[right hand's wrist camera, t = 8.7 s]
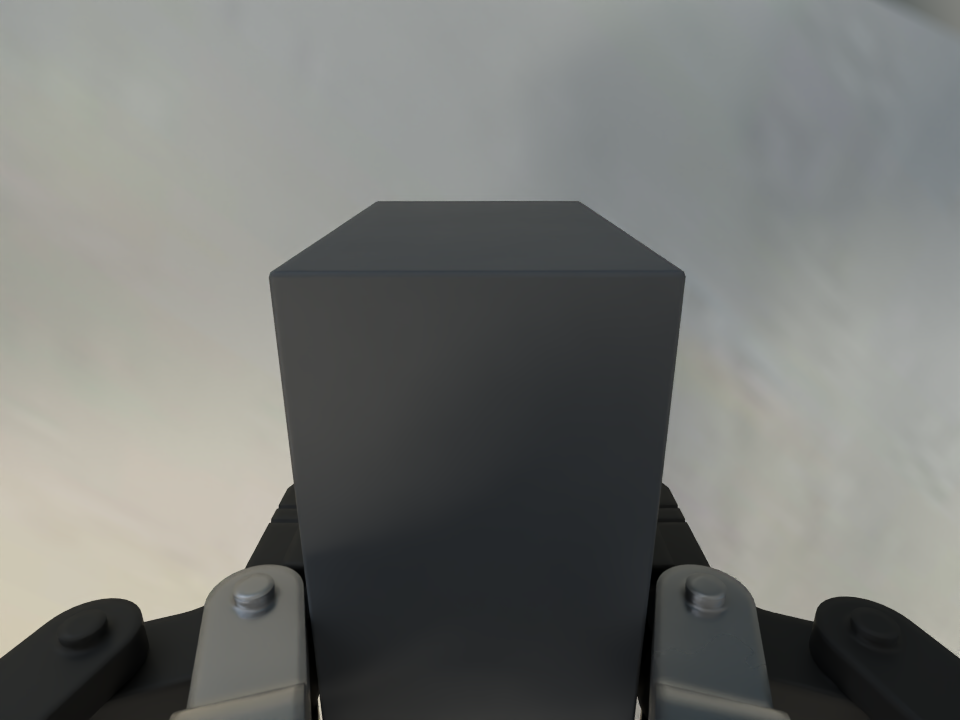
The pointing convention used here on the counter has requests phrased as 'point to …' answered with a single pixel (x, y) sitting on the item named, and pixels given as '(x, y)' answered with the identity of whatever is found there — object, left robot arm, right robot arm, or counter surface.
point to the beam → (477, 456)
